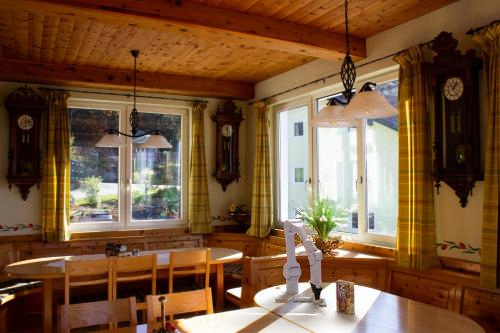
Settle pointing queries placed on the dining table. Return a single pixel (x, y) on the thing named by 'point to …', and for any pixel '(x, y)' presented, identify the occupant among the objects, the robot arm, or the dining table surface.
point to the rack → (311, 300)
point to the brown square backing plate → (281, 300)
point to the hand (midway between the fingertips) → (316, 297)
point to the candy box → (345, 296)
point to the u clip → (314, 298)
